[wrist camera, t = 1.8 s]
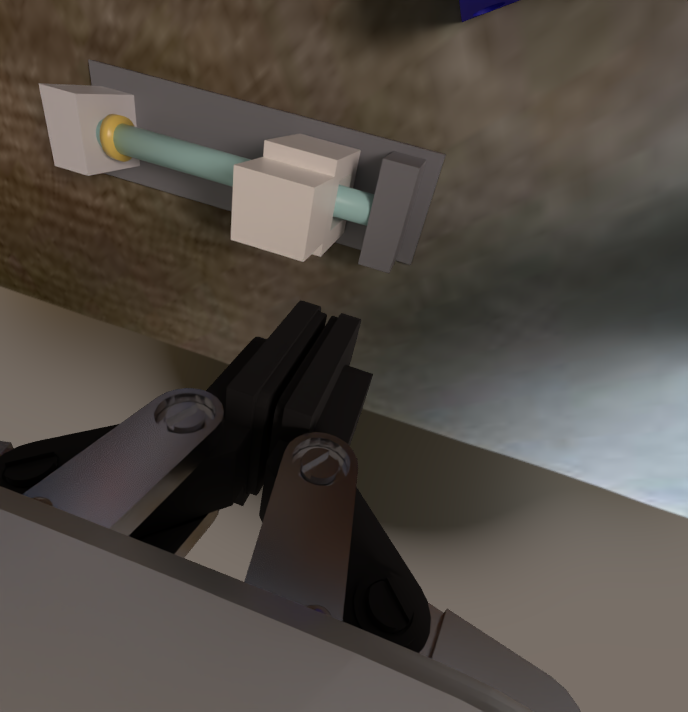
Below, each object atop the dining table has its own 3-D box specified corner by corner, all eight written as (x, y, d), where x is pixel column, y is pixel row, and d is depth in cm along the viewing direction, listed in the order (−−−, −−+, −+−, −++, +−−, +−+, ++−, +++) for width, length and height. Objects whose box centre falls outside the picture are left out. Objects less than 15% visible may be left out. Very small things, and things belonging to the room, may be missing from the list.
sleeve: (360, 150, 24) (317, 168, 18) (343, 232, 27) (301, 276, 21) (299, 133, 25) (234, 145, 18) (289, 216, 28) (230, 254, 21)
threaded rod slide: (445, 154, 24) (440, 165, 20) (411, 263, 28) (400, 291, 24) (92, 60, 26) (20, 52, 22) (107, 172, 30) (48, 183, 26)
